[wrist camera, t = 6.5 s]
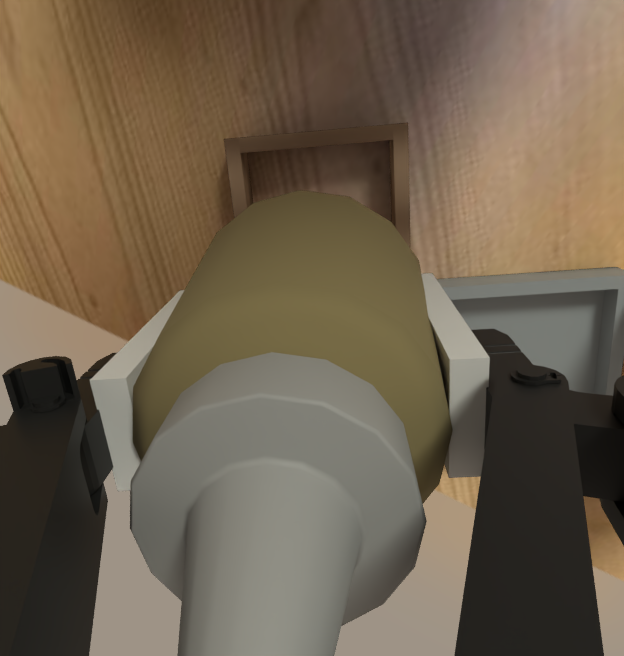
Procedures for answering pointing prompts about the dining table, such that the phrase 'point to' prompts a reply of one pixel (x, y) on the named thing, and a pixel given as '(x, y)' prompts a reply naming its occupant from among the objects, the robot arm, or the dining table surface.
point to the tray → (553, 319)
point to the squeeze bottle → (289, 429)
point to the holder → (391, 132)
